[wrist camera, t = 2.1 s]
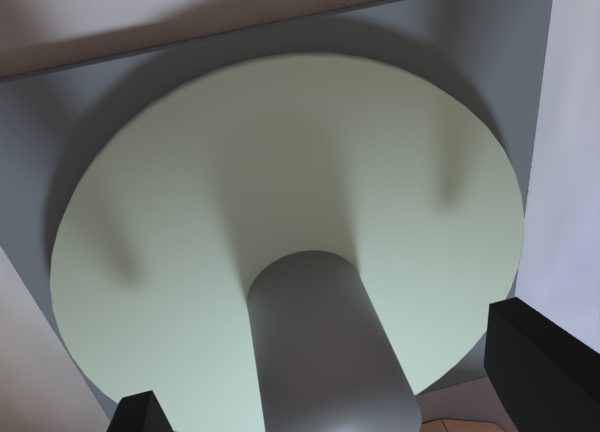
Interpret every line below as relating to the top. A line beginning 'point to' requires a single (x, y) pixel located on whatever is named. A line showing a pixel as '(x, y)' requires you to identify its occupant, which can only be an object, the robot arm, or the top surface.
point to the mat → (242, 46)
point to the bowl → (459, 426)
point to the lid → (288, 247)
